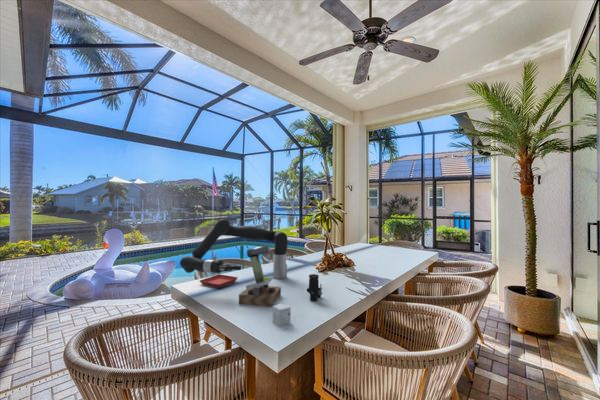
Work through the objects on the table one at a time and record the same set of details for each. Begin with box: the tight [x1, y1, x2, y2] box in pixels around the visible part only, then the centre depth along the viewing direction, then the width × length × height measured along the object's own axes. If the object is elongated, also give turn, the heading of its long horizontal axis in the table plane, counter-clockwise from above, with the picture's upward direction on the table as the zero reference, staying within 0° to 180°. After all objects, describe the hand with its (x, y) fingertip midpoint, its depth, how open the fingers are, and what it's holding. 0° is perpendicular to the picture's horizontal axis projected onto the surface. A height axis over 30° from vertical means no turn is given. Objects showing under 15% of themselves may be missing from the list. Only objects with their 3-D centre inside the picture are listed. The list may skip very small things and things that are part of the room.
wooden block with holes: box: [238, 283, 282, 308], centre depth 147 cm, size 18×18×9 cm
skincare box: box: [272, 302, 292, 327], centre depth 119 cm, size 6×6×7 cm
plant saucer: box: [199, 273, 239, 289], centre depth 176 cm, size 18×18×3 cm
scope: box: [306, 273, 323, 303], centre depth 148 cm, size 8×14×10 cm
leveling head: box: [245, 244, 275, 289], centre depth 148 cm, size 15×13×22 cm
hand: (240, 267), depth 150 cm, fingers closed
